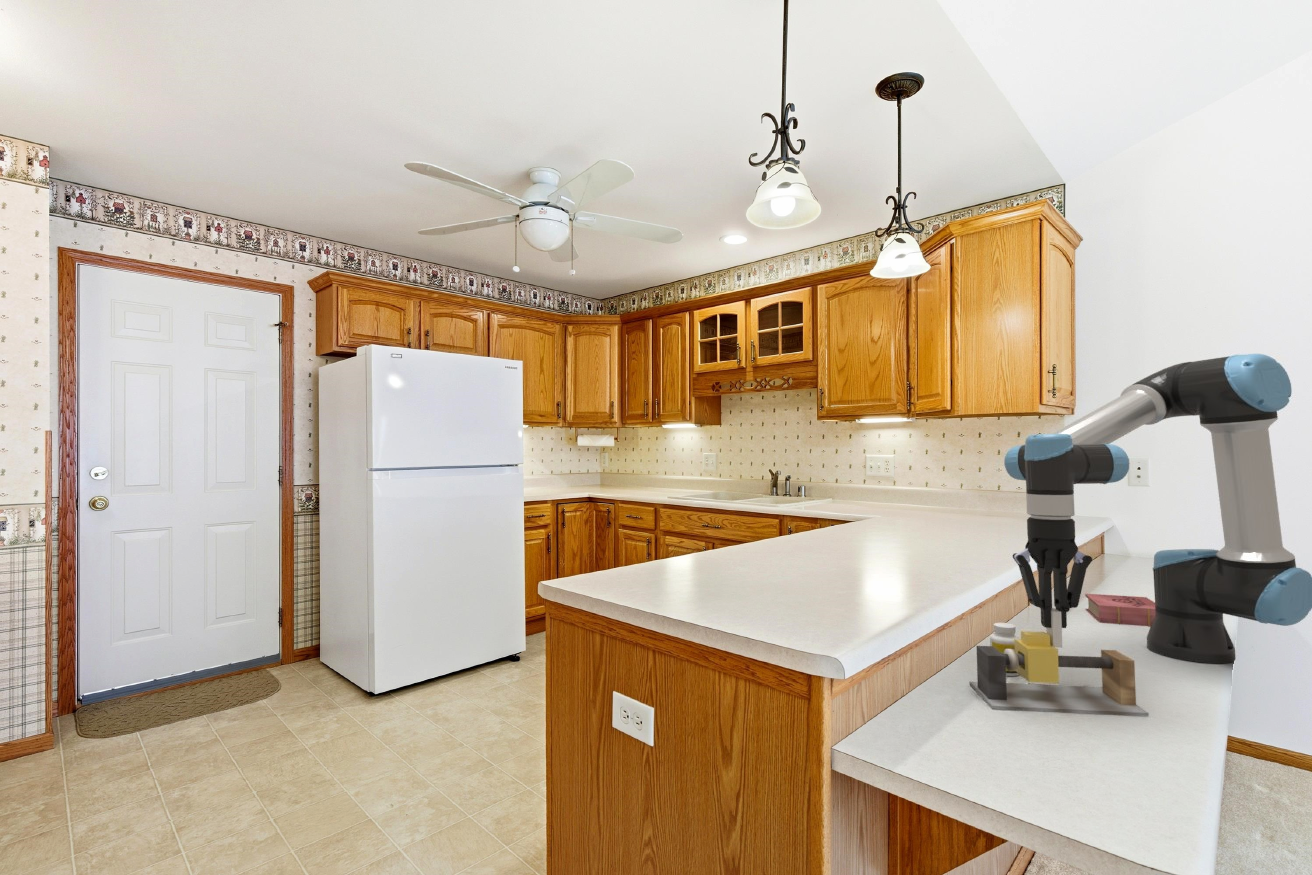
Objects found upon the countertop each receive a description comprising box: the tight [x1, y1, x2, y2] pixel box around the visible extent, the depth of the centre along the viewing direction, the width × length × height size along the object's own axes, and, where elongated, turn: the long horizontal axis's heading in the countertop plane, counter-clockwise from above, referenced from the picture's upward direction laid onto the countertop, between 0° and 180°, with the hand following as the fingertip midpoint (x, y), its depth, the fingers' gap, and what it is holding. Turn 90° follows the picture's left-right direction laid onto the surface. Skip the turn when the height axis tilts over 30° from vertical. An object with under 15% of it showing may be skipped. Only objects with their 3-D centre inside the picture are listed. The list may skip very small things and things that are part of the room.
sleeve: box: [1014, 630, 1060, 684], centre depth 116 cm, size 5×6×8 cm
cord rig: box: [969, 645, 1150, 717], centre depth 115 cm, size 25×12×9 cm, turn 81°
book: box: [1085, 593, 1155, 628], centre depth 170 cm, size 14×15×5 cm
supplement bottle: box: [989, 622, 1021, 677], centre depth 130 cm, size 5×5×10 cm
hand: (1054, 645), depth 116 cm, fingers closed
